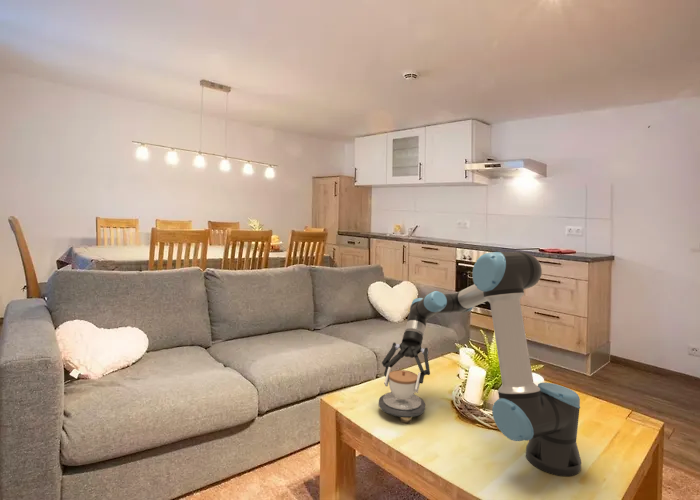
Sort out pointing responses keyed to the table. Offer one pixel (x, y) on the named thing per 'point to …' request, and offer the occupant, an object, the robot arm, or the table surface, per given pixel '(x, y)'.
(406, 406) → the base
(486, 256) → the robot arm
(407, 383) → the lidded jar
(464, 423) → the table surface
